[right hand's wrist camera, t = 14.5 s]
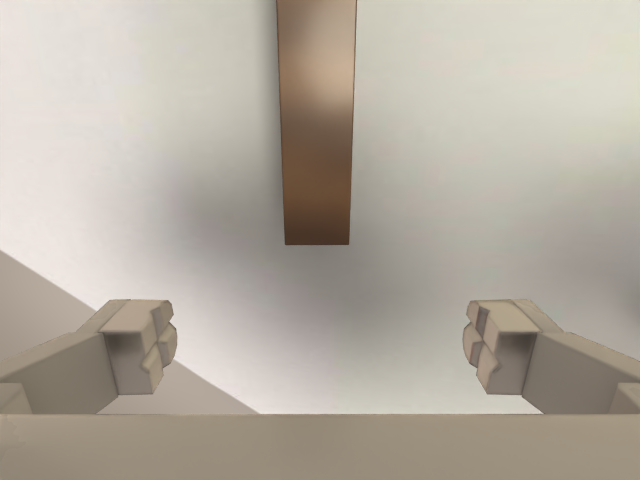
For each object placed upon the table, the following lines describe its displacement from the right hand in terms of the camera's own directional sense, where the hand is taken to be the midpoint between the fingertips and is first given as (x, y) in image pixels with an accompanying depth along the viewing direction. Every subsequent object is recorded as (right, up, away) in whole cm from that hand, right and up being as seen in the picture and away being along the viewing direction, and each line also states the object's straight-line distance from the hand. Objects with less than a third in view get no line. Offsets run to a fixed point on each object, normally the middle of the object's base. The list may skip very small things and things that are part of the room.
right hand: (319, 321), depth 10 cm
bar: (0, +16, +19) cm, 25 cm away
